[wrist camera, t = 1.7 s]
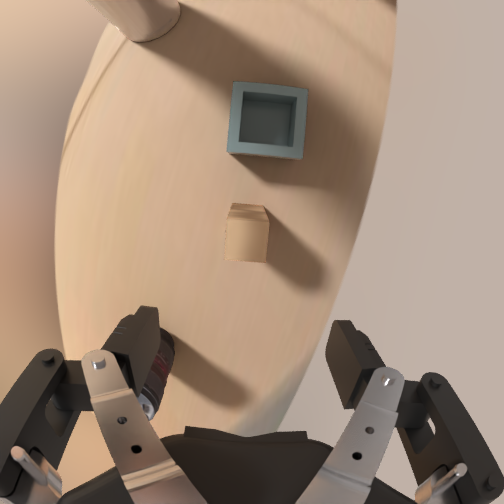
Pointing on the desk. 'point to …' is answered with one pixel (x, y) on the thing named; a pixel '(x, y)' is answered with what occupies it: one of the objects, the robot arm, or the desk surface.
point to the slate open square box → (267, 120)
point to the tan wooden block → (246, 233)
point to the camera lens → (157, 376)
